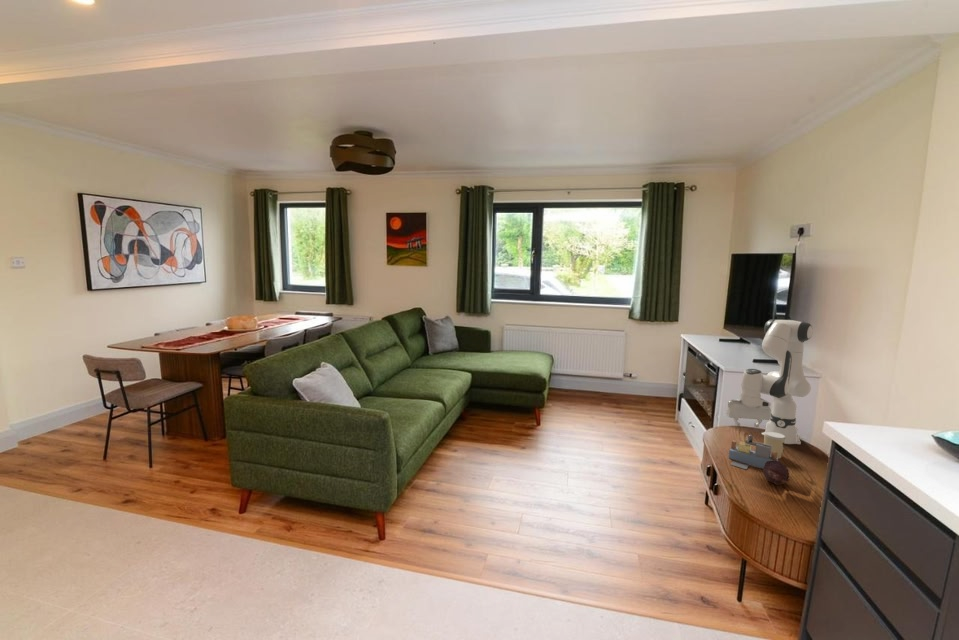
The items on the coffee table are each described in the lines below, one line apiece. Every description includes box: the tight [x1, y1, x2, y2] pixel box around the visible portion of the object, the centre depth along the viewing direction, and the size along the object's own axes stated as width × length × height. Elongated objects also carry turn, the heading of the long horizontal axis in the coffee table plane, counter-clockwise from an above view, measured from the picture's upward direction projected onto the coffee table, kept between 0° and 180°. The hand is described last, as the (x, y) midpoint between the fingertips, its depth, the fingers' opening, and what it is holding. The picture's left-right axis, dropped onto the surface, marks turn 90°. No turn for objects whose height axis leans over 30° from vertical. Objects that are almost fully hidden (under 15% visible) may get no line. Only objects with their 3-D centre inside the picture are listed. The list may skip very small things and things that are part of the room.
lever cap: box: [737, 440, 753, 454], centre depth 218 cm, size 5×5×4 cm
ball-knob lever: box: [744, 434, 764, 447], centre depth 215 cm, size 2×8×4 cm, turn 47°
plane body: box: [728, 439, 779, 470], centre depth 216 cm, size 8×20×11 cm, turn 47°
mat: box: [730, 460, 750, 470], centre depth 213 cm, size 6×7×1 cm
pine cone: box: [762, 460, 790, 486], centre depth 196 cm, size 18×10×10 cm, turn 159°
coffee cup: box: [763, 431, 785, 459], centre depth 225 cm, size 9×9×12 cm
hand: (746, 426), depth 217 cm, fingers open, 8 cm apart
